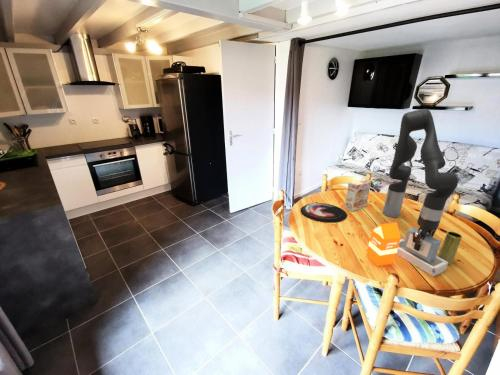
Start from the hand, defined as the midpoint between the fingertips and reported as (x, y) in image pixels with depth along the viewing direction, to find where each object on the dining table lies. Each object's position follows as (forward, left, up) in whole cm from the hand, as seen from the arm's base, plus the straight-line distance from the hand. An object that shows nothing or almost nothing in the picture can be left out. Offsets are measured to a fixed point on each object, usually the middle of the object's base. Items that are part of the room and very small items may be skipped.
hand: (419, 248), depth 107 cm
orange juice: (+15, -8, -7) cm, 18 cm away
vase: (-12, +6, -7) cm, 15 cm away
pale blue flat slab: (0, 0, -3) cm, 3 cm away
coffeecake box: (-18, -52, -7) cm, 55 cm away
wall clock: (+7, -56, -7) cm, 57 cm away
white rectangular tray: (0, 0, -7) cm, 7 cm away
